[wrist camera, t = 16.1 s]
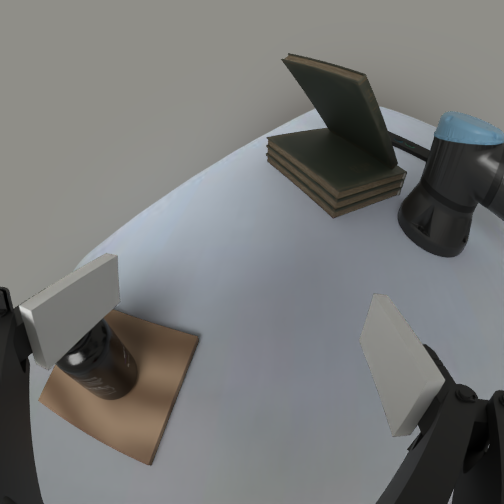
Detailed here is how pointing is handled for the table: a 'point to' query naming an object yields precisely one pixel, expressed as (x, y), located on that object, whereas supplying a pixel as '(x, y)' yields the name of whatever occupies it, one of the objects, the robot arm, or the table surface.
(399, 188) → the stacked books
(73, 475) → the table surface
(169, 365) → the walnut board
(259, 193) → the table surface
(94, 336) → the supplement bottle
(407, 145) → the smart home device
